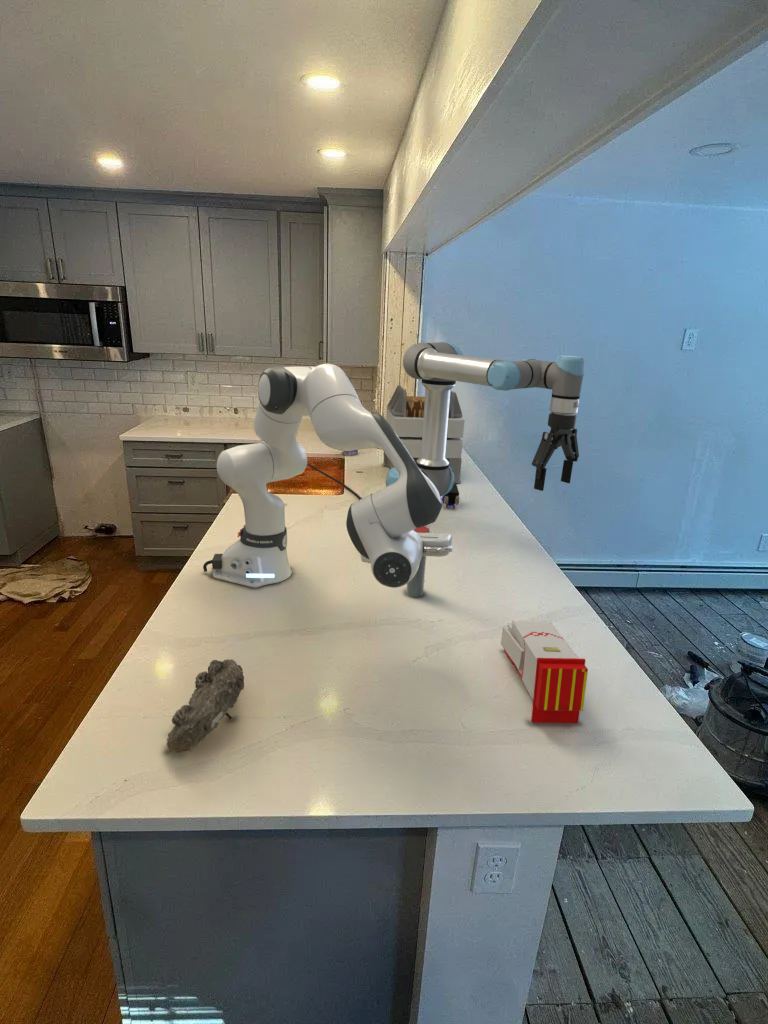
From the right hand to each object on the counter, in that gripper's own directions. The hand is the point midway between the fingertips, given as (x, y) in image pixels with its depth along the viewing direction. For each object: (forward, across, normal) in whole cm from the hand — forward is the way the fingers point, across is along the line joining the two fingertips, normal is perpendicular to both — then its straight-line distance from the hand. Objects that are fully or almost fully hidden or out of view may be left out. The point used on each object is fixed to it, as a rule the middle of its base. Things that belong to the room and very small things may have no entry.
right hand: (552, 485), depth 166 cm
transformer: (+28, +46, +101) cm, 115 cm away
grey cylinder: (+28, -41, +13) cm, 51 cm away
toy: (+28, -47, -32) cm, 64 cm away
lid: (+9, -41, +13) cm, 44 cm away
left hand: (+2, -57, 0) cm, 57 cm away
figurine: (+28, +41, +149) cm, 157 cm away
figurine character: (+28, +24, +60) cm, 70 cm away
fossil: (+28, -107, 0) cm, 110 cm away
